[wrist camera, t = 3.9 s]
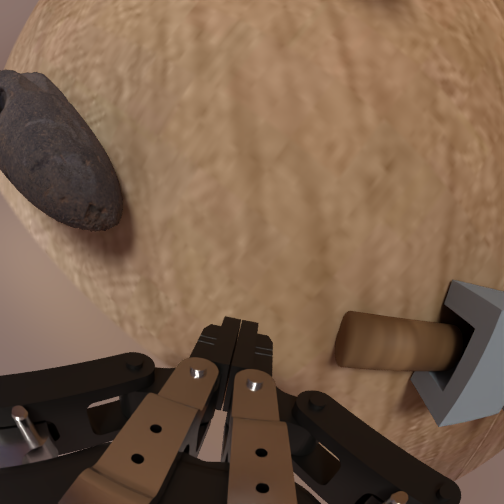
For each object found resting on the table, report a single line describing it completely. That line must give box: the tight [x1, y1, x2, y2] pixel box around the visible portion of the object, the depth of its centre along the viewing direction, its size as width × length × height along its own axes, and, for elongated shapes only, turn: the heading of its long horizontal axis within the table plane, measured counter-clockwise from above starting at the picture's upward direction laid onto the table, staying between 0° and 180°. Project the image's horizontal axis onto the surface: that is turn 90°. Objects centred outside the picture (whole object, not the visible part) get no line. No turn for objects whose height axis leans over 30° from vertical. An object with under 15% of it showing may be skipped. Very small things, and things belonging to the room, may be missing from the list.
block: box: [410, 280, 504, 427], centre depth 12 cm, size 7×8×5 cm
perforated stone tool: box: [0, 70, 123, 231], centre depth 11 cm, size 15×5×7 cm, turn 43°
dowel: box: [335, 311, 463, 371], centre depth 14 cm, size 8×3×3 cm, turn 80°
